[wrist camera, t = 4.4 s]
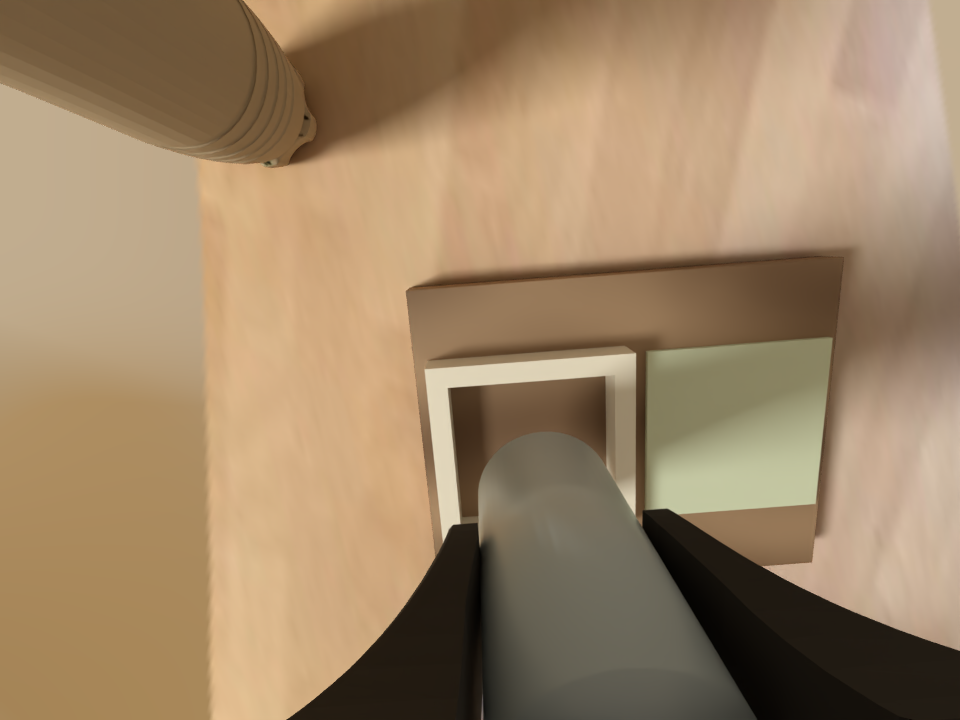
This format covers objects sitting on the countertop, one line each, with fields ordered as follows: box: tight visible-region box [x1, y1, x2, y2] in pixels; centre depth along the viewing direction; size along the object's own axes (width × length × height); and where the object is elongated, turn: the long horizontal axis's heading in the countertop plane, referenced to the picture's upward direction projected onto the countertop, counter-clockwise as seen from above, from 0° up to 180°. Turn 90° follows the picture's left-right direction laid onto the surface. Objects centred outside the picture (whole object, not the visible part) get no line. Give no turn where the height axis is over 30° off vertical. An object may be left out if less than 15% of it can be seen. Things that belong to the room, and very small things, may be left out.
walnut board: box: [406, 256, 844, 566], centre depth 18 cm, size 12×15×1 cm
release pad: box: [645, 337, 833, 514], centre depth 18 cm, size 6×6×1 cm
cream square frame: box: [425, 346, 636, 542], centre depth 17 cm, size 7×7×1 cm
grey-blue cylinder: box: [478, 432, 757, 720], centre depth 11 cm, size 4×4×8 cm
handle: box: [0, 0, 317, 168], centre depth 9 cm, size 5×6×15 cm
